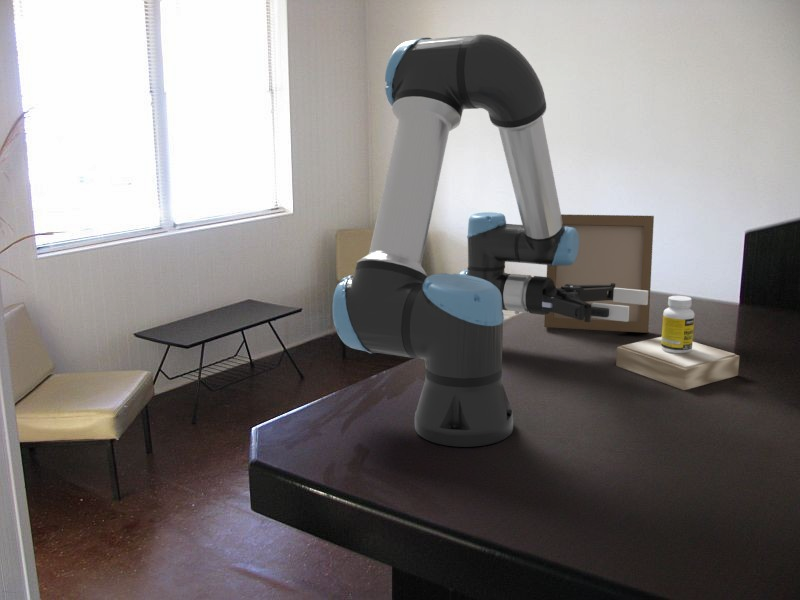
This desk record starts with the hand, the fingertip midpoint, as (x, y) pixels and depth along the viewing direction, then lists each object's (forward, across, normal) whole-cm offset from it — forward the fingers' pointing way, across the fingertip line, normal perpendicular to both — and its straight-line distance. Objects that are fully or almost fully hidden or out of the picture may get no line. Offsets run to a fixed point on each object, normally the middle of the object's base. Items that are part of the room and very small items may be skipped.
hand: (638, 305), depth 148 cm
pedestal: (+7, 0, -12) cm, 14 cm away
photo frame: (-15, -24, -12) cm, 30 cm away
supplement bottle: (+7, 0, -8) cm, 11 cm away
